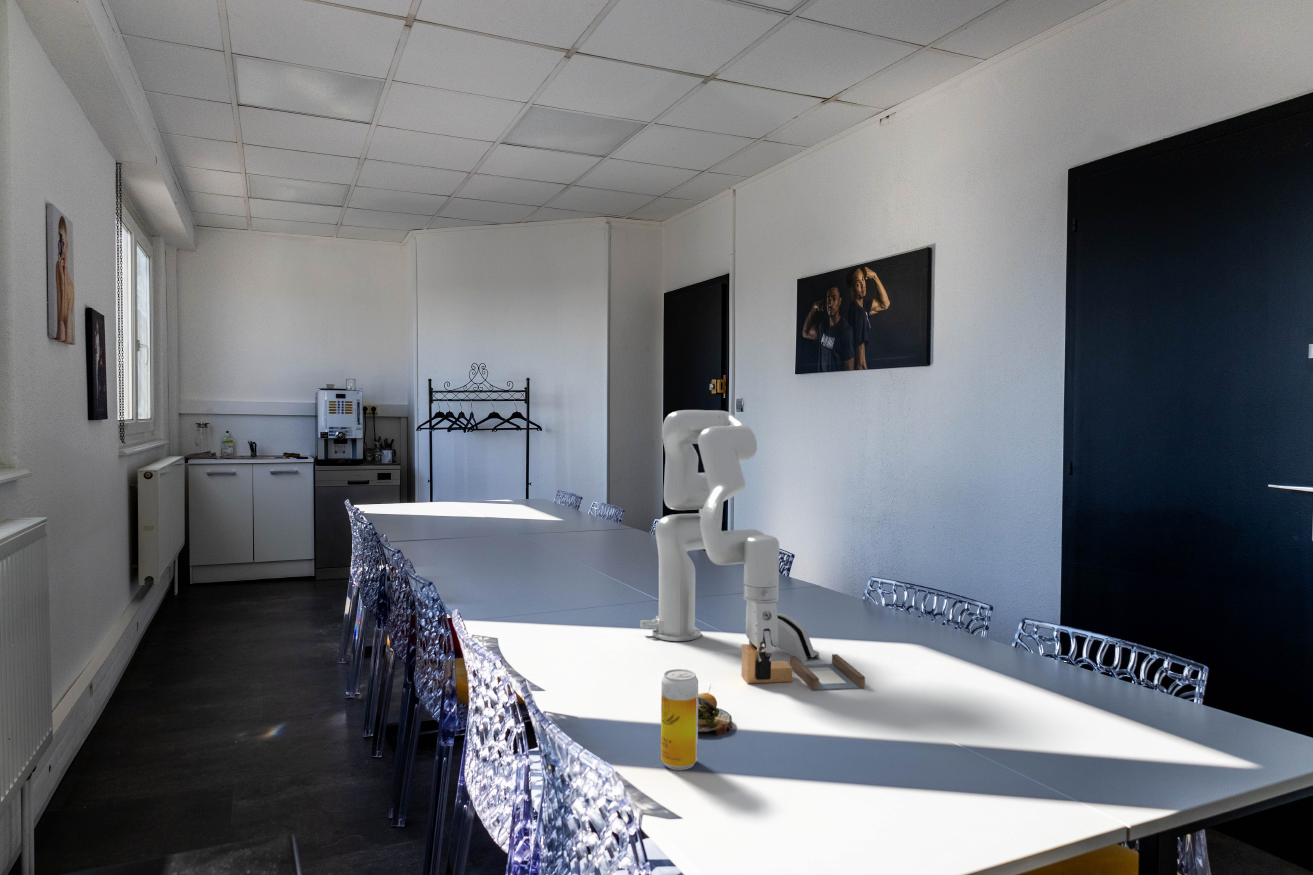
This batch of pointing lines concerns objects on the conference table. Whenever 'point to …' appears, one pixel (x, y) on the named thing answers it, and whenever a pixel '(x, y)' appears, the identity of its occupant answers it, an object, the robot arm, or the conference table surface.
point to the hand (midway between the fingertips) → (759, 673)
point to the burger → (712, 715)
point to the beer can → (679, 719)
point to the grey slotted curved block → (794, 638)
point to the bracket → (749, 657)
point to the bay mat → (831, 677)
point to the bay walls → (836, 661)
